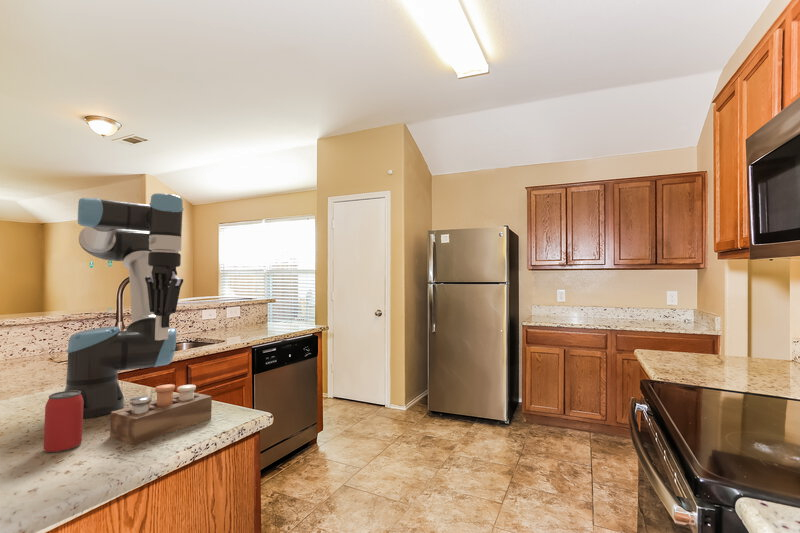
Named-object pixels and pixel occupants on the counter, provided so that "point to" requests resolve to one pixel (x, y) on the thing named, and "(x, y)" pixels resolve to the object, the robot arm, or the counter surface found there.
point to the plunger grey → (140, 404)
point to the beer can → (63, 421)
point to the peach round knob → (164, 395)
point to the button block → (159, 419)
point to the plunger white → (186, 392)
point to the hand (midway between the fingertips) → (161, 339)
